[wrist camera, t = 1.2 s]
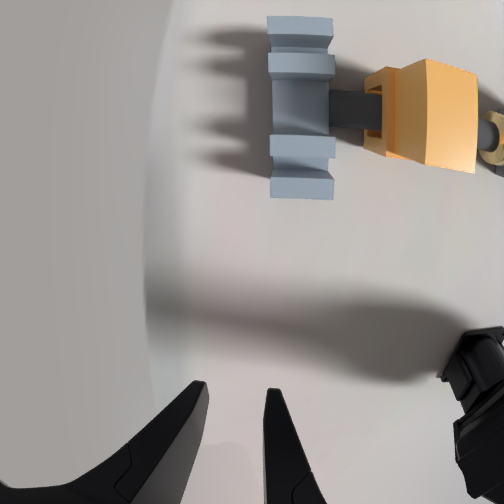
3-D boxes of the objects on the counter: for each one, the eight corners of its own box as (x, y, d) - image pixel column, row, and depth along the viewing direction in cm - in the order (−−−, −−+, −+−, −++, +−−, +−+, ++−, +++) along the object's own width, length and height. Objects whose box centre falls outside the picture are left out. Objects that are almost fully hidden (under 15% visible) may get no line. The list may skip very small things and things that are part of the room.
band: (485, 112, 13) (515, 115, 10) (483, 160, 14) (512, 170, 11) (477, 110, 13) (507, 111, 10) (475, 158, 14) (504, 168, 11)
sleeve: (412, 87, 14) (483, 73, 7) (410, 154, 15) (480, 180, 8) (364, 78, 14) (415, 51, 7) (363, 148, 16) (414, 169, 9)
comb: (322, 42, 14) (332, 18, 10) (323, 181, 17) (333, 200, 13) (272, 40, 14) (266, 16, 10) (275, 180, 18) (270, 197, 14)
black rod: (515, 131, 12) (532, 135, 10) (513, 159, 13) (530, 165, 11) (327, 91, 14) (332, 87, 12) (327, 126, 15) (332, 126, 13)
